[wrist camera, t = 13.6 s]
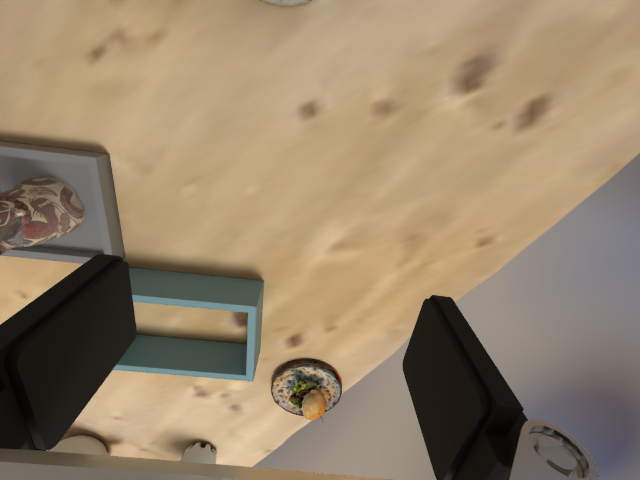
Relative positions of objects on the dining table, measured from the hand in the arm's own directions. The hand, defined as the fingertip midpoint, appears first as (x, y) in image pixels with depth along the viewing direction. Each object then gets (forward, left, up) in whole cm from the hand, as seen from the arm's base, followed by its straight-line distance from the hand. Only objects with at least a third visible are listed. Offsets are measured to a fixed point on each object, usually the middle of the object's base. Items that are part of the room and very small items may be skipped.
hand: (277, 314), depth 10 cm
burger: (+38, +4, -31) cm, 49 cm away
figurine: (+10, -30, -29) cm, 43 cm away
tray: (+10, -30, -30) cm, 44 cm away
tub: (+25, -14, -30) cm, 42 cm away
